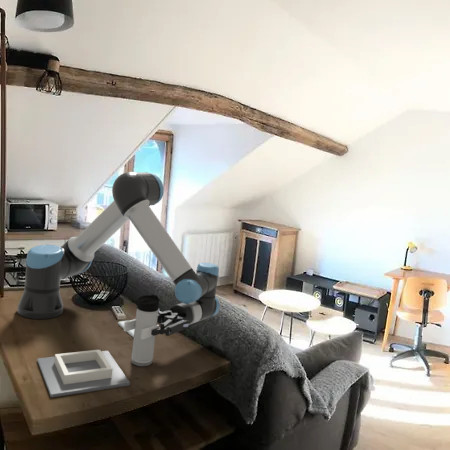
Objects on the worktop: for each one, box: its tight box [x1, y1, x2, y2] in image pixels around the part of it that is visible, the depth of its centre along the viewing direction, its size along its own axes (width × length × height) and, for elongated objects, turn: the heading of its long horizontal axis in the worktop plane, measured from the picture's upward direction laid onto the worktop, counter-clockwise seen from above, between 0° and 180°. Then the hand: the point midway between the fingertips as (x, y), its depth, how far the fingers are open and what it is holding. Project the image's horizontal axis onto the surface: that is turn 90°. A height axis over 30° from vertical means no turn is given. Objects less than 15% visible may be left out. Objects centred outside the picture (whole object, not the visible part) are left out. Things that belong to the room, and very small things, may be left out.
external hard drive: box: [117, 319, 135, 339], centre depth 158 cm, size 2×8×12 cm
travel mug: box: [130, 294, 160, 367], centre depth 133 cm, size 6×7×20 cm
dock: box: [36, 349, 131, 398], centre depth 123 cm, size 20×20×3 cm
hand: (133, 330), depth 129 cm, fingers closed on travel mug, 6 cm apart
